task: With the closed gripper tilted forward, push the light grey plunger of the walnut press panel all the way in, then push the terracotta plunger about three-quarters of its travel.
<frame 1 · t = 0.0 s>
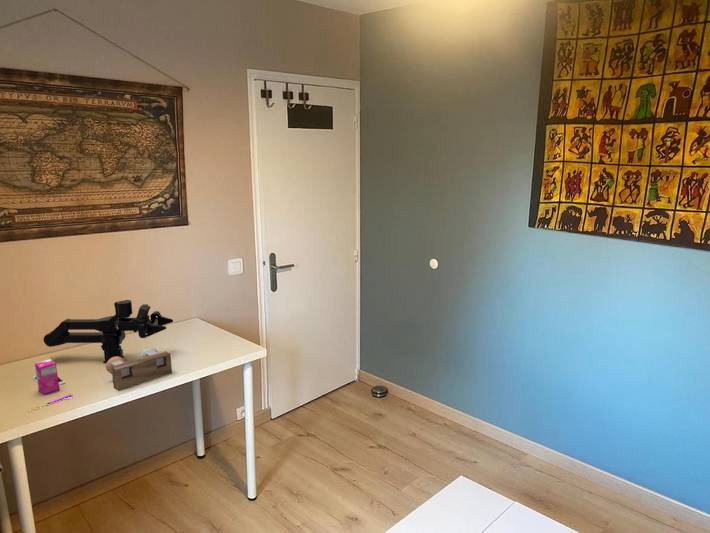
hand: (169, 324, 219), 17 cm above the table, tool horizontal, fingers open, 9 cm apart
press panel: (141, 378, 204), on the table
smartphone: (49, 381, 201), on the table
terracotta plunger: (119, 368, 199), point 6 cm above the table, slide at 0.0 cm
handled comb: (50, 406, 182), on the table
supplement box: (49, 391, 193), on the table
grey plunger: (154, 358, 209), point 6 cm above the table, slide at 0.0 cm
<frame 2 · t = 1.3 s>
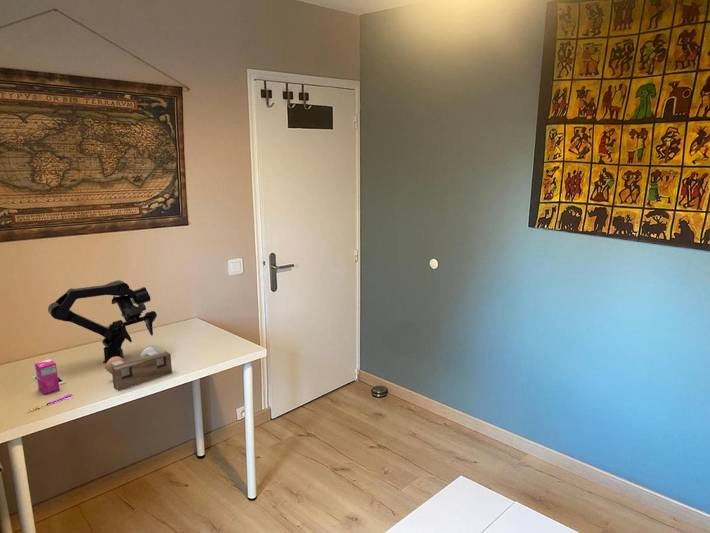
hand: (141, 338, 215), 12 cm above the table, tool tilted 45°, fingers open, 9 cm apart
nothing on the table moved.
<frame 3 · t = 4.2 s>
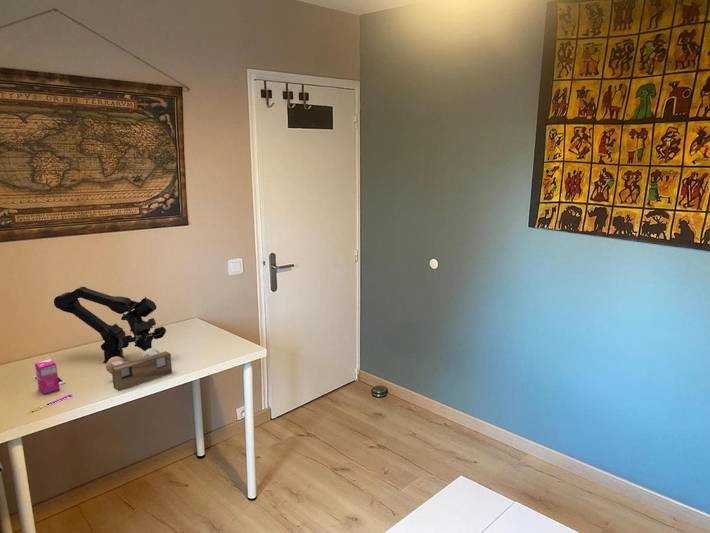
hand: (150, 354, 211), 7 cm above the table, tool tilted 45°, fingers closed, pressing on grey plunger
grey plunger: (155, 359, 208), point 6 cm above the table, slide at 1.5 cm, touching gripper
everything else where it was.
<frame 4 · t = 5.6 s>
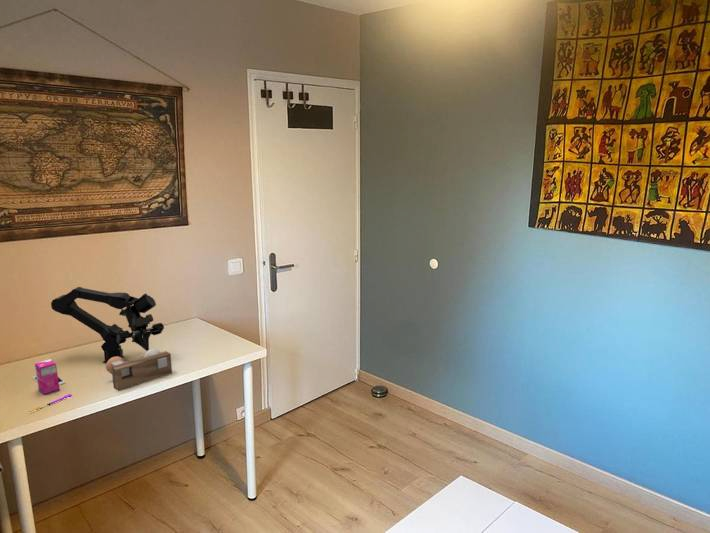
hand: (147, 350, 211), 8 cm above the table, tool tilted 45°, fingers closed
grey plunger: (157, 360, 207), point 6 cm above the table, slide at 2.9 cm
everything else where it was.
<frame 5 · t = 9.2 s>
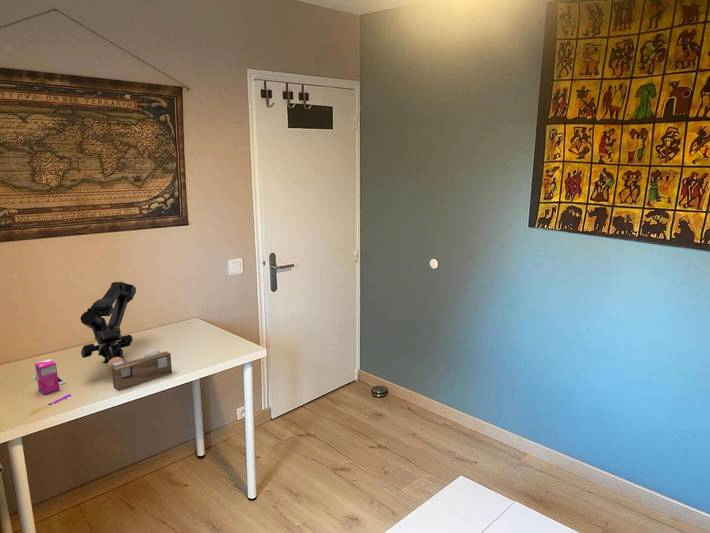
hand: (114, 363, 201), 7 cm above the table, tool tilted 45°, fingers closed, pressing on terracotta plunger
terracotta plunger: (120, 368, 198), point 6 cm above the table, slide at 0.8 cm, touching gripper
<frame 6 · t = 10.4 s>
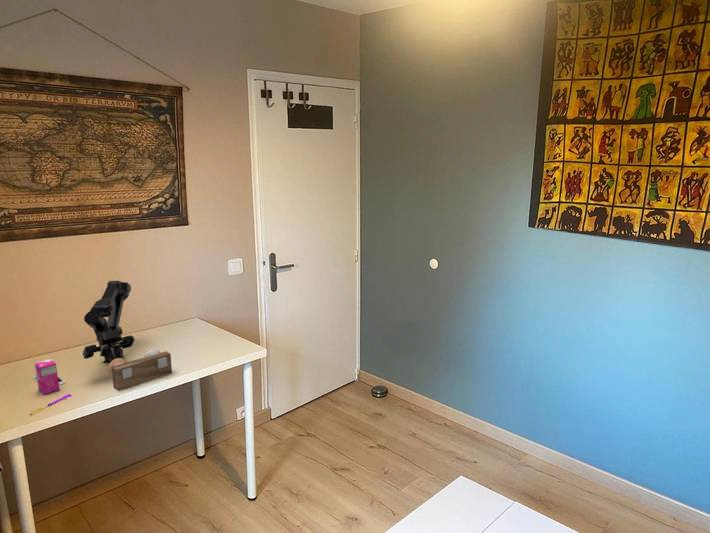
hand: (116, 364, 201), 7 cm above the table, tool tilted 45°, fingers closed
terracotta plunger: (122, 369, 197), point 6 cm above the table, slide at 2.3 cm
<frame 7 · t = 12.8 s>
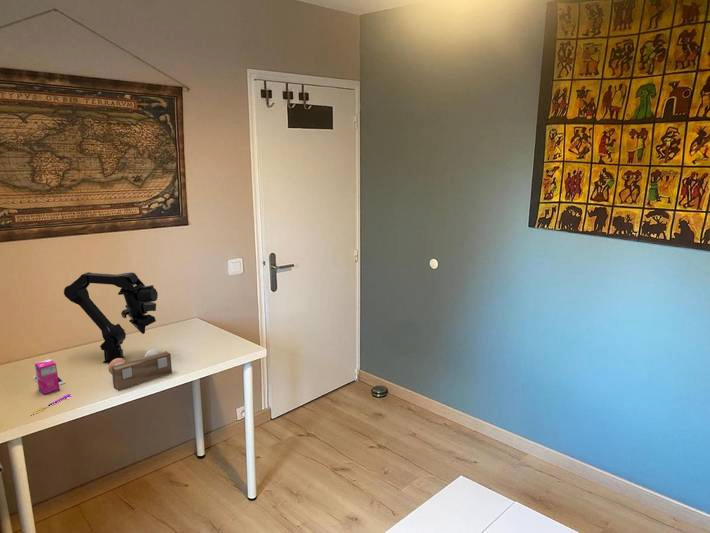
hand: (143, 333, 222), 12 cm above the table, tool pointing down, fingers closed
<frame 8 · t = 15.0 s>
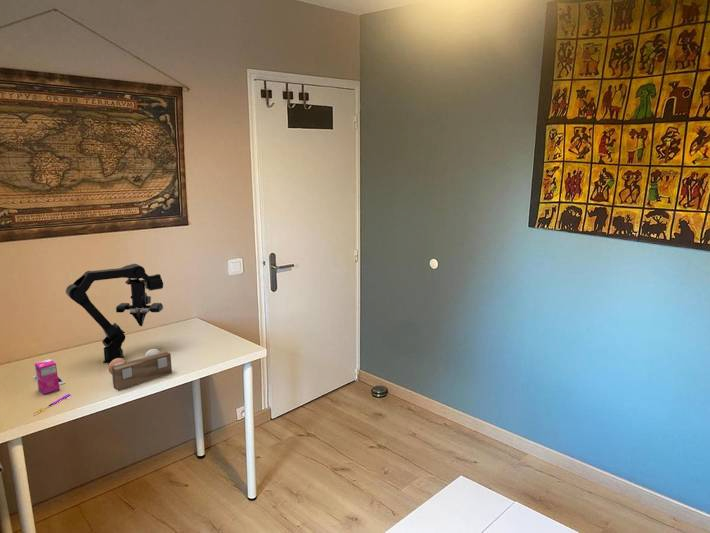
hand: (141, 325, 227), 13 cm above the table, tool pointing down, fingers closed
at the end: grey plunger slide at 2.9 cm; terracotta plunger slide at 2.3 cm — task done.
